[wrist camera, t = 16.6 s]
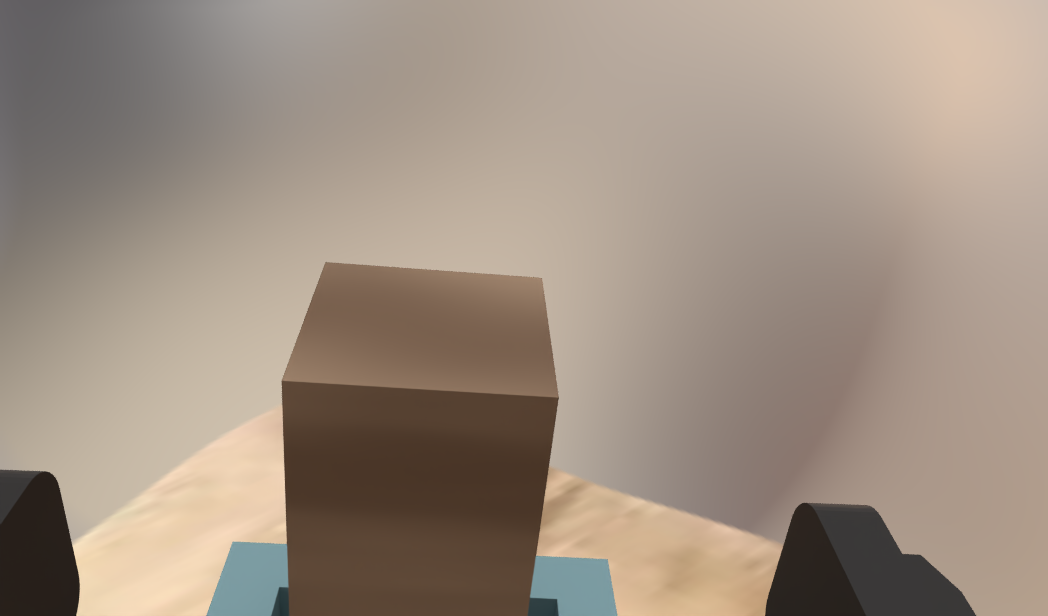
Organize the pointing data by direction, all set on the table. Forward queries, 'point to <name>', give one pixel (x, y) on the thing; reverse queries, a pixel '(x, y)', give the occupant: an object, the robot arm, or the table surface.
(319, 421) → the walnut post
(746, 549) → the table surface
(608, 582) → the well
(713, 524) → the table surface
